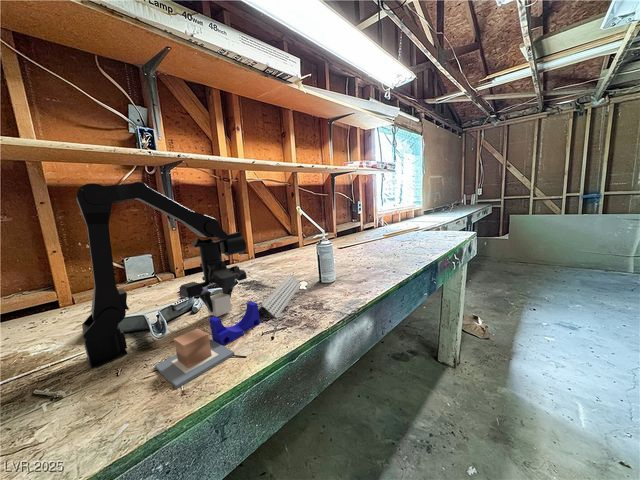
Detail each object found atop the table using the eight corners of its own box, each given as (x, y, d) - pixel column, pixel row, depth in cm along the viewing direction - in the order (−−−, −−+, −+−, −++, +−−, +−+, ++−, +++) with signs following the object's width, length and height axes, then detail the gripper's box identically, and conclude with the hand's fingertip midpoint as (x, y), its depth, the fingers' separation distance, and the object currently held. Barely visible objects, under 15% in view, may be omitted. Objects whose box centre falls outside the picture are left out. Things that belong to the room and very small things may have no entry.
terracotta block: (188, 368, 51) (183, 345, 50) (177, 360, 54) (173, 338, 53) (211, 355, 54) (208, 334, 54) (200, 348, 57) (197, 328, 57)
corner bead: (281, 286, 101) (279, 274, 100) (302, 285, 99) (301, 273, 98) (249, 320, 73) (246, 304, 72) (278, 320, 71) (276, 304, 70)
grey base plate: (176, 388, 46) (176, 385, 46) (155, 367, 53) (154, 364, 53) (234, 354, 55) (234, 351, 55) (209, 340, 62) (209, 337, 62)
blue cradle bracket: (221, 347, 59) (217, 323, 58) (212, 341, 62) (208, 318, 61) (263, 325, 68) (260, 304, 67) (254, 321, 71) (251, 301, 70)
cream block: (216, 316, 74) (214, 300, 73) (208, 313, 77) (205, 297, 76) (231, 310, 78) (229, 294, 77) (223, 307, 81) (221, 292, 80)
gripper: (192, 270, 63) (202, 328, 65) (253, 254, 77) (260, 302, 79) (174, 266, 70) (184, 318, 72) (233, 252, 84) (240, 296, 86)
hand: (219, 308), depth 77 cm, fingers closed on cream block, 5 cm apart
